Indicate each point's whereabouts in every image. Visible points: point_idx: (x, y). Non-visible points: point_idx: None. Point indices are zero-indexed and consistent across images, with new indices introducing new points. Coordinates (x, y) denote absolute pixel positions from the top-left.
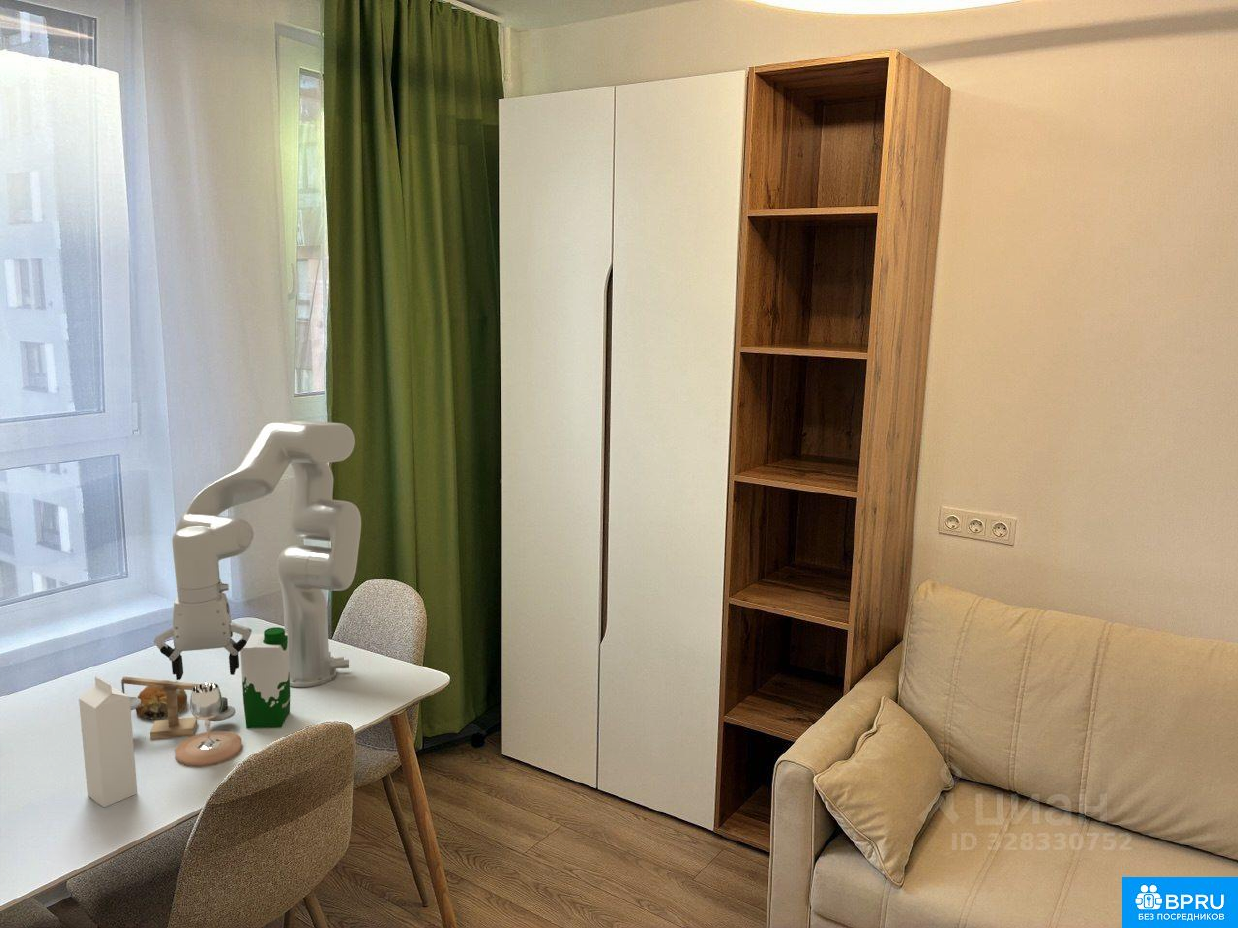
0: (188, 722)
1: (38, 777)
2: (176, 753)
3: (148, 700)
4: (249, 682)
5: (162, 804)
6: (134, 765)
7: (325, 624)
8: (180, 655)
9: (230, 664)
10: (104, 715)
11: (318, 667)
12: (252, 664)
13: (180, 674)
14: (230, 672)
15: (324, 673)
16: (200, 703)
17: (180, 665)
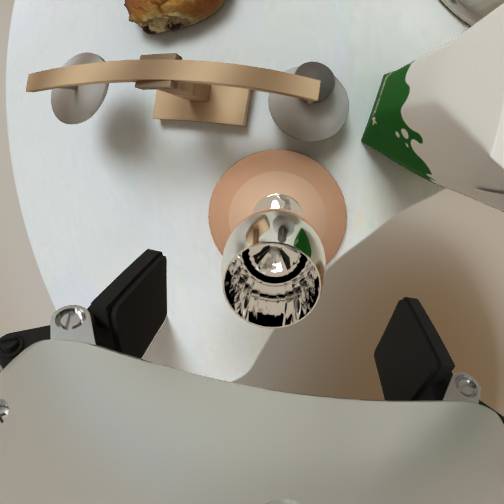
0: (232, 91)
1: (40, 213)
2: (212, 231)
3: (140, 12)
4: (424, 159)
5: (207, 356)
6: (148, 347)
7: None
8: (110, 307)
9: (386, 390)
10: None
11: None
12: (475, 186)
13: (158, 324)
14: (376, 360)
15: None
16: (254, 310)
17: (141, 332)
